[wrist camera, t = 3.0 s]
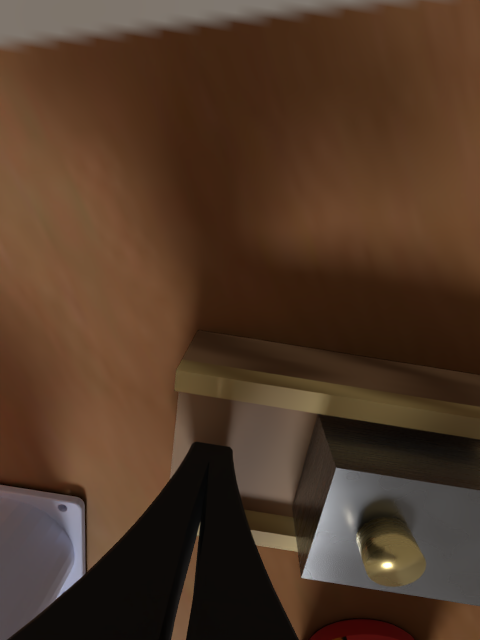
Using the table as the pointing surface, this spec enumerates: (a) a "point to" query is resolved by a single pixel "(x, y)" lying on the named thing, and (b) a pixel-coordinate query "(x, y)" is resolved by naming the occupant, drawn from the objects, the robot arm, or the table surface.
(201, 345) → the wooden channel tray
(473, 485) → the grey block with knob
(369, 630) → the canned food
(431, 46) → the table surface
